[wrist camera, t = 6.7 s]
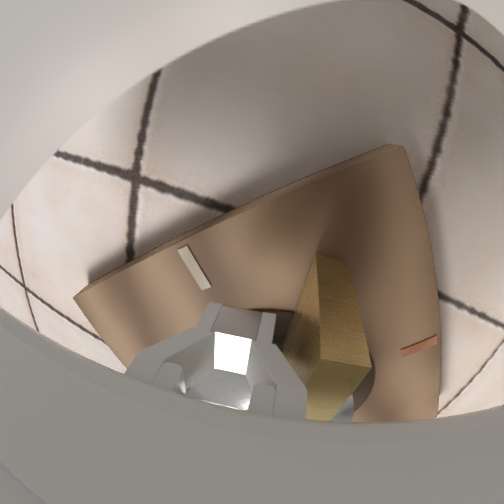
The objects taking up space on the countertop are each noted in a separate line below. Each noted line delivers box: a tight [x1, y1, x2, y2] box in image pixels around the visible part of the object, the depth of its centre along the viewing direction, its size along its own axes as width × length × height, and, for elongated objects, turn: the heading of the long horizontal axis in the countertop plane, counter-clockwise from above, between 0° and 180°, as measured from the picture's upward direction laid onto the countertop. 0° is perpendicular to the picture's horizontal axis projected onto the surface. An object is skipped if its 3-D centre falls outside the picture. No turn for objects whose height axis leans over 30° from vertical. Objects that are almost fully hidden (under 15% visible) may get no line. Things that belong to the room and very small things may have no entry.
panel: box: [73, 144, 441, 422], centre depth 17 cm, size 22×22×2 cm
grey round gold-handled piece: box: [188, 254, 372, 422], centre depth 12 cm, size 15×10×6 cm, turn 168°
